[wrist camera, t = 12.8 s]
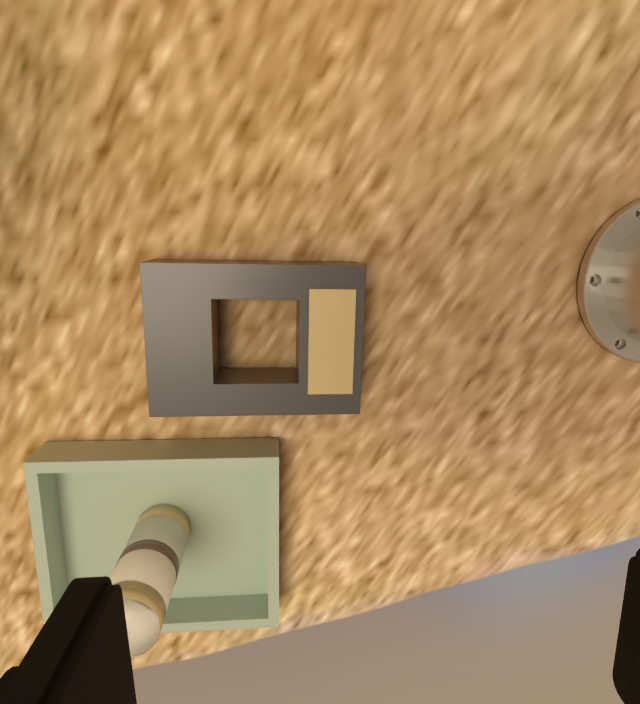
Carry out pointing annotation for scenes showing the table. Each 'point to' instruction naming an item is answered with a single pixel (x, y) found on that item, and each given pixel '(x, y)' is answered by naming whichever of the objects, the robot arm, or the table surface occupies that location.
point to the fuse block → (252, 383)
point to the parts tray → (163, 488)
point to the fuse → (150, 572)
